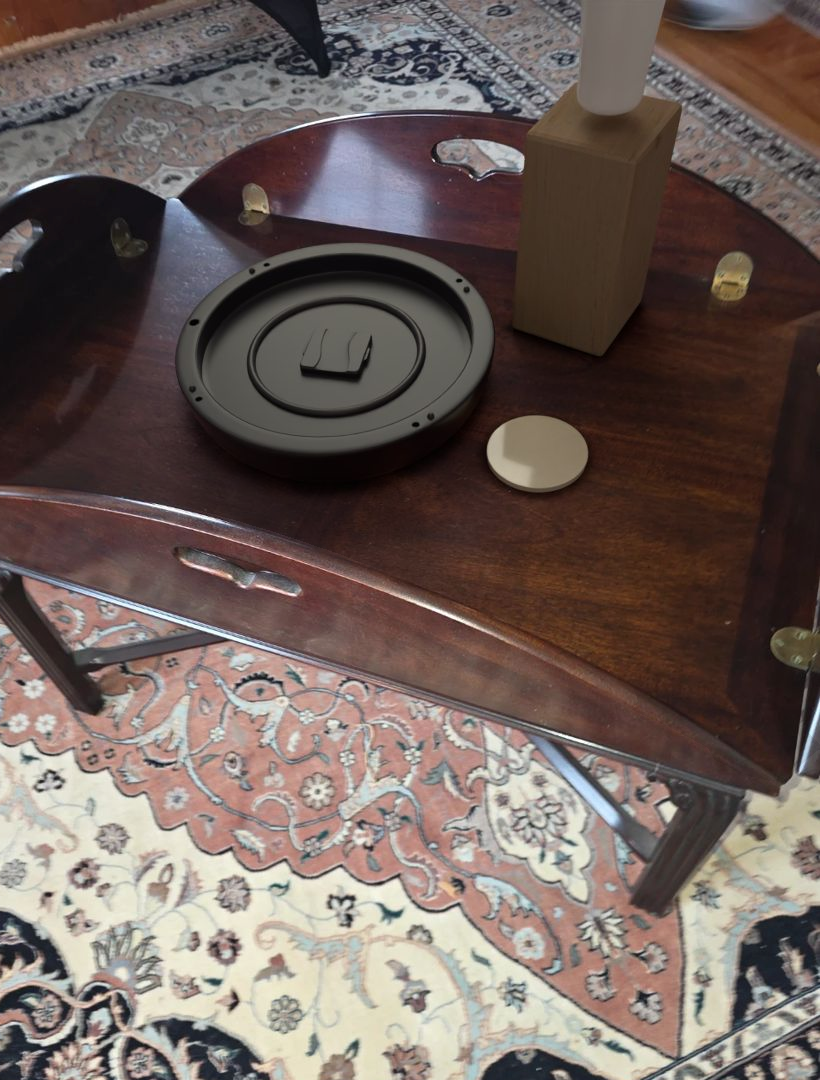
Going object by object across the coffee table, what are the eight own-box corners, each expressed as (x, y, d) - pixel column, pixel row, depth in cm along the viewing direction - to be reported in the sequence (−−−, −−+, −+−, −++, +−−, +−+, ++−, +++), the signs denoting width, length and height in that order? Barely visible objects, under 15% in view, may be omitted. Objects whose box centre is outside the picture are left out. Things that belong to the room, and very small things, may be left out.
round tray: (509, 298, 92) (238, 280, 97) (513, 247, 87) (227, 230, 92) (469, 515, 76) (146, 479, 81) (470, 467, 71) (126, 432, 76)
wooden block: (642, 302, 90) (685, 101, 74) (601, 359, 86) (638, 159, 69) (553, 275, 94) (575, 78, 77) (509, 329, 89) (523, 132, 73)
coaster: (590, 424, 81) (591, 420, 80) (583, 497, 76) (584, 493, 75) (493, 415, 82) (493, 411, 82) (479, 486, 77) (480, 482, 77)
